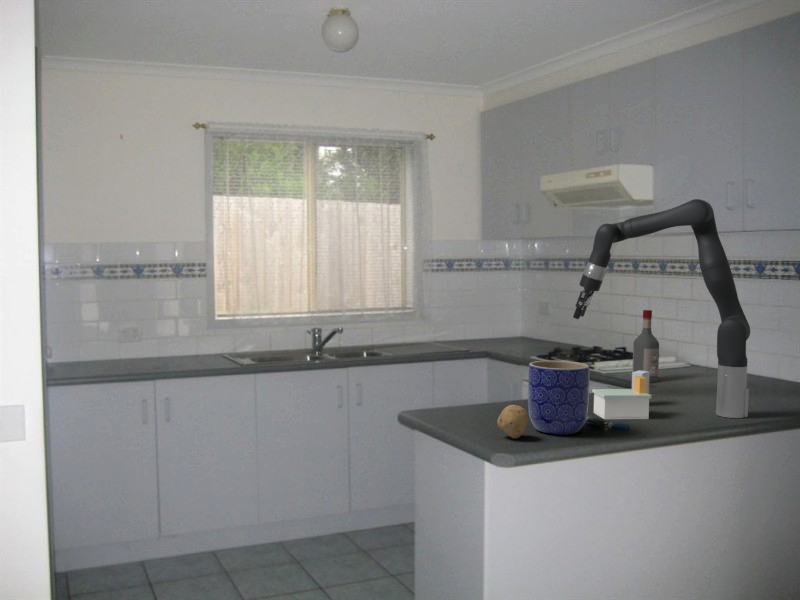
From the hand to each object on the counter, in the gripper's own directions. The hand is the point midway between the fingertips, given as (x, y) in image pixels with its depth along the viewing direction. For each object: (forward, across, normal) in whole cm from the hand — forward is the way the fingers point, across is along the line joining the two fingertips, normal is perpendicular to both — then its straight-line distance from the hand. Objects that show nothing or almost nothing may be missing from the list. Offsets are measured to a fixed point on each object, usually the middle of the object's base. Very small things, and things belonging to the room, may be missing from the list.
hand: (578, 317), depth 314 cm
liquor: (+25, +52, -28) cm, 64 cm away
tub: (+21, -26, -29) cm, 44 cm away
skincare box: (+21, -3, -32) cm, 39 cm away
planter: (+25, -59, -15) cm, 66 cm away
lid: (+16, -26, -27) cm, 41 cm away
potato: (+28, -74, -6) cm, 80 cm away
